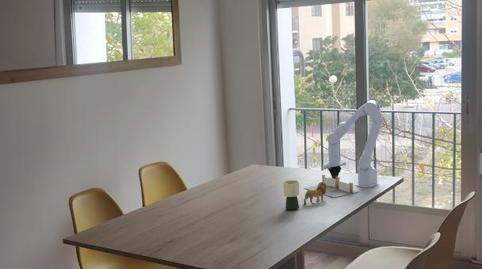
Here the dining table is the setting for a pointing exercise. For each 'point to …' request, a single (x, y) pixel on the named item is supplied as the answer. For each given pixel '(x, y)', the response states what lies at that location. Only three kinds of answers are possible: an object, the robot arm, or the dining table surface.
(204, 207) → the dining table surface
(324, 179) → the hinged fence panel
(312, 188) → the card
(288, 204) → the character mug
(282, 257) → the dining table surface
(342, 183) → the fixed fence panel
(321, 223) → the dining table surface
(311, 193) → the lion figurine
